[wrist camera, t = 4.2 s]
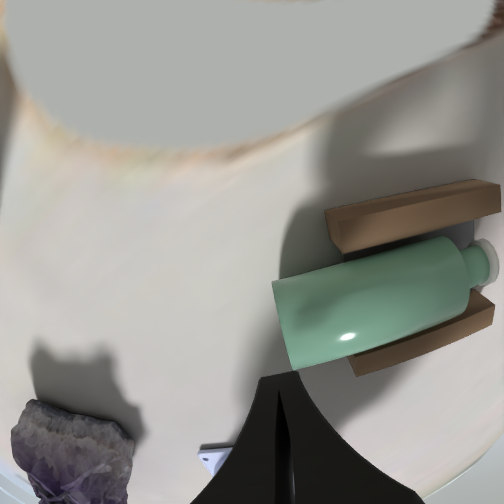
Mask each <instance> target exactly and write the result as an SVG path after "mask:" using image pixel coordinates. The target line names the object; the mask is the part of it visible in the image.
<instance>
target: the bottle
mask: <svg viewBox="0 0 504 504" xmlns="http://www.w3.org/2000/svg"><path fill="white" fill-rule="evenodd" d="M498 274H499V260H498V256H497V253H496V251H495V249H494V247H493V245H492V244H491V243H490V242H489V241H488V240H486V239H478V240H475V241H473V242H471V243H470V244H469V245H468V247H466V248H464V249H461V250H458V249H457V247H456V246H455V244H454V243H453V242H452V241H451V240H450V239H448V238H447V237H445V236H442V235H437V236H434V237H431V238H427V239H424V240H421V241H417V242H414V243H411V244H407V245H404V246H400V247H397V248H394V249H390V250H387V251H383V252H380V253H376V254H373V255H369V256H366V257H362V258H358V259H355V260H351V261H348V262H344V263H340V264H337V265H333V266H329V267H326V268H322V269H318V270H314V271H311V272H307V273H303V274H299V275H295V276H292V277H288V278H284V279H280V280H276V281H272V288H273V293H274V298H275V303H276V307H277V312H278V316H279V320H280V325H281V329H282V333H283V337H284V341H285V345H286V349H287V352H288V356H289V360H290V363H291V366H292V369H293V370H297V369H301V368H305V367H309V366H313V365H317V364H321V363H324V362H328V361H332V360H335V359H339V358H342V357H346V356H349V355H352V354H356V353H359V352H362V351H365V350H368V349H372V348H375V347H378V346H381V345H384V344H387V343H390V342H392V341H395V340H398V339H401V338H404V337H407V336H409V335H412V334H415V333H417V332H420V331H423V330H425V329H428V328H430V327H433V326H435V325H438V324H440V323H443V322H445V321H447V320H450V319H452V318H455V317H457V316H459V315H461V314H462V313H463V312H464V311H465V309H466V307H467V305H468V301H469V294H470V289H471V288H473V287H475V286H478V285H479V286H482V287H484V286H487V285H489V284H491V283H493V282H495V280H496V279H497V277H498Z"/></svg>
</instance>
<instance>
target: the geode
mask: <svg viewBox="0 0 504 504" xmlns="http://www.w3.org/2000/svg"><path fill="white" fill-rule="evenodd" d="M134 445H135V443H134V441H133V440H132V439H131V438H129V437H128V436H126V434H125V433H124V431H123V429H122V427H121V426H120V425H119V424H118V423H117V422H113V421H108V420H100V419H98V418H94V417H90V416H83V415H79V414H72V413H68V412H66V411H64V410H62V409H57V408H55V407H53V406H51V405H49V404H47V403H45V402H42V401H39V400H35V399H31V400H29V401H28V402H27V403H26V408H25V409H24V410H23V412H22V414H21V416H20V418H19V422H18V424H17V425H16V426H15V427H14V428H12V430H11V446H12V454H13V458H14V460H15V462H16V463H17V465H18V466H19V467H20V468H21V469H22V470H24V471H26V472H27V475H28V479H29V481H30V483H31V485H32V487H33V489H34V492H35V494H36V496H37V497H38V498H41V500H40V501H39V504H127V497H128V494H127V490H126V487H127V484H128V482H129V479H130V476H131V471H132V466H133V465H132V453H133V449H134Z"/></svg>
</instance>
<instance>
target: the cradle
mask: <svg viewBox="0 0 504 504" xmlns="http://www.w3.org/2000/svg"><path fill="white" fill-rule="evenodd" d="M498 212H501V189H500V185H498V184H494V183H490V182H485V181H481V180H476V179H472V180H466V181H461V182H456V183H451V184H446V185H441V186H436V187H431V188H426V189H421V190H417V191H412V192H407V193H402V194H397V195H393V196H388V197H383V198H379V199H374V200H369V201H365V202H360V203H356V204H351V205H347V206H342V207H338V208H333V209H329V210H325V215H326V221H327V226H328V232H329V237H330V239H331V240H332V242H333V243H334V244H335V245H336V246H337V247H338V249H339V250H340V251H341V254H342V260H343V263H344V262H348V261H351V260H355V259H358V258H362V257H366V256H369V255H373V254H376V253H380V252H383V251H387V250H390V249H394V248H397V247H400V246H404V245H407V244H411V243H414V242H417V241H421V240H424V239H427V238H431V237H434V236H437V235H442V236H445V237H447V238H448V239H450V240H451V241H452V242H453V243H454V244H455V246H456V247H457V249H458V250H461V249H464V248H466V247H468V245H469V244H470V243H471V242H473V241H474V219H477V218H481V217H484V216H488V215H491V214H495V213H498ZM494 310H495V304H493V303H492V302H491V301H489V300H488V299H487V298H486V297H484V296H483V295H482V294H480V293H479V292H478V291H476V290H475V289H473V290H472V288H471V289H470V294H469V301H468V305H467V307H466V309H465V311H464V312H463V313H462V314H461V315H459V316H457V317H455V318H452V319H450V320H447V321H445V322H443V323H440V324H438V325H435V326H433V327H430V328H428V329H425V330H423V331H420V332H417V333H415V334H412V335H409V336H407V337H404V338H401V339H398V340H395V341H392V342H390V343H387V344H384V345H381V346H378V347H375V348H372V349H368V350H365V351H362V352H359V353H356V354H352V355H349V356H347V357H348V359H349V361H350V364H351V366H352V368H353V371H354V373H355V376H356V377H358V376H361V375H365V374H368V373H371V372H374V371H377V370H381V369H384V368H387V367H390V366H393V365H396V364H399V363H401V362H404V361H407V360H410V359H413V358H415V357H418V356H421V355H423V354H426V353H429V352H431V351H434V350H436V349H439V348H441V347H443V346H446V345H448V344H451V343H453V342H455V341H458V340H460V339H462V338H464V337H467V336H469V335H471V334H473V333H475V332H477V331H480V330H482V329H484V328H486V327H488V326H490V325H492V322H493V316H494Z"/></svg>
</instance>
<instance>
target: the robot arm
mask: <svg viewBox="0 0 504 504" xmlns="http://www.w3.org/2000/svg"><path fill="white" fill-rule="evenodd" d="M198 457H199V458H200V460H201V461H202V463H203V464H204V465H205V467H206V468H207V469H208V471H209V472H210V474H211V475H212V476H213V478H212V480H211V481H210V482H209V483H208V485H207V486H206V487H205V488H204V489H203V490H202V492H201V493H200V494H199V495H198V496H197V497H196V498H195V499H194V500H193V501H192V502H191V503H190V504H425V503H424V502H423V500H422V499H421V498H420V497H419V496H418V494H417V493H416V492H415V491H413V490H412V489H410V488H408V487H406V486H404V485H402V484H401V483H399V482H397V481H396V480H394V479H392V478H391V477H389V476H388V475H386V474H385V473H383V472H382V471H380V470H379V469H378V468H376V467H375V466H374V465H372V464H371V463H370V462H369V461H367V460H366V459H365V458H364V457H362V456H361V455H360V454H359V453H357V452H356V451H355V450H354V449H353V448H352V447H351V446H350V445H349V444H348V443H347V442H346V441H345V440H344V439H343V438H342V437H341V436H340V435H339V434H338V433H337V432H336V431H335V430H334V429H333V427H332V426H331V425H330V424H329V423H328V421H327V420H326V419H325V418H324V416H323V415H322V414H321V412H320V411H319V410H318V408H317V407H316V405H315V404H314V402H313V401H312V399H311V398H310V396H309V395H308V393H307V391H306V389H305V387H304V385H303V383H302V381H301V379H300V376H299V372H297V371H291V372H286V373H281V374H276V375H272V376H267V377H261V378H260V380H259V382H258V386H257V390H256V394H255V397H254V400H253V403H252V406H251V409H250V411H249V414H248V417H247V419H246V422H245V424H244V426H243V428H242V430H241V432H240V434H239V437H238V439H237V441H236V443H235V444H234V446H233V447H231V448H221V449H209V450H200V451H198Z"/></svg>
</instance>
